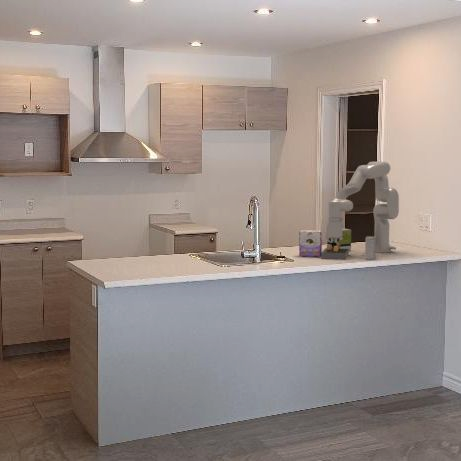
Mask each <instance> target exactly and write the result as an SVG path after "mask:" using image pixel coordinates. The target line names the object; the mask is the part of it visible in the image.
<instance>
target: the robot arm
mask: <svg viewBox="0 0 461 461" xmlns="http://www.w3.org/2000/svg"><path fill="white" fill-rule="evenodd" d="M390 171H391V165H390V164H389V163H388V162H386V161H369V162H368V163H367V164H362V165H359V166H357V168H356V170H355V171H354V173H353V175H352V177H351V179H350V180H349V182H348V183H347V184H346V185H345V186H344V187H342V188H340V190H339V191H338V192H337V193H336V194H335V197H334V199H331V200H329V201H328V221H327V222H326V227H325V231H326V232H325V239H326V241H327V240H330V241H331V243H332V248H333V249H334V246H337V242H338V241H339V240H343V237H342V236H343V222H342V221H343V220H344V218H343V217H341V216H342V214H341V213H342V212H347V213H348V212H351V211H352V210H353V208H354V203H353V201H351V200H349V199H347V198H348V197H349V196H351V195H353V194H356V193H357V192H360V191H361V189H362V188H363V186H364V184H365V183H366V180H367V179H370V180H372V179H373V180H374V182H375V183H374V185H375V186H374V190H375V195H374V196H375V199H376V201H378V202H380V203H378V204H375V205H374V207H373V218H374V236H373V237H375V253H378V254H379V253H380V254H381V253H382V254H385V253H391V252H392V250H397V246H394V245H393V246H392V245H391V244H390V221H389V220H395V219H396V218H398V216H399V212H400V211H399V210H400V204H399V203H400V201H399V200H400V198H399V196H400V195H399V193H398V190H397V189H396V188H394V187H390V186H389V177H388V174H389V173H390ZM381 202H382V203H381ZM333 238H335V243H334V241H333Z"/></svg>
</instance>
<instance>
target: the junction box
mask: <svg viewBox="0 0 461 461" xmlns="http://www.w3.org/2000/svg"><path fill="white" fill-rule="evenodd" d="M364 240H365V246H364V247H365V249H364V250H365V252H364V255H365V256H364V259H365V260H370V261H371V260H374V259H375V255H376V252H375V237H374V236H371V235H370V236H368V235H367V236H366V237H365V238H364Z"/></svg>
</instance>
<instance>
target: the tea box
mask: <svg viewBox="0 0 461 461" xmlns="http://www.w3.org/2000/svg"><path fill="white" fill-rule="evenodd" d="M342 237H343V240H339V241H338V242H337V244H340V249H349V252H351V251H352V229H350V228H349V229H348V228H343V236H342ZM333 241H334V243H335V238H333ZM329 244H330V245H331V248H332V243H331V241H330V240H327V239H326V246H327V245H329Z"/></svg>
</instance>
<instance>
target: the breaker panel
mask: <svg viewBox="0 0 461 461" xmlns="http://www.w3.org/2000/svg"><path fill="white" fill-rule="evenodd" d="M349 256H350V251H349V249H338V252H336V251H334V249H333V248H331V250H327V247H326V248H324V249H322V252H321V257H320V258H321V260H338V259H340V260H344V261H346V260H347V259H348V257H349Z"/></svg>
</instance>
